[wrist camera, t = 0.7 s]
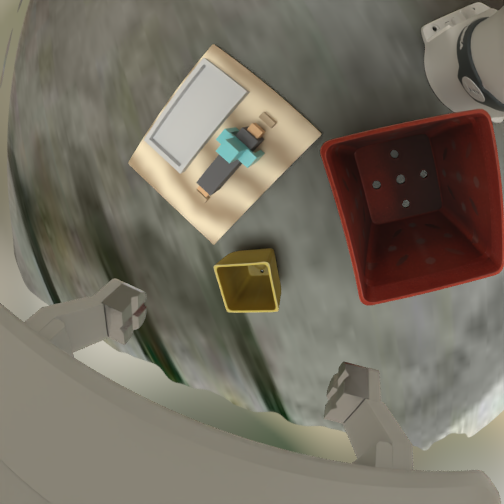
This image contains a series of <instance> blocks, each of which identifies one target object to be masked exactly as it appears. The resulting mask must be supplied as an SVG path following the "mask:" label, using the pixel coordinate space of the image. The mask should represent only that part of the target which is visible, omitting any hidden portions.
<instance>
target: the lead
mask: <svg viewBox="0 0 504 504" xmlns="http://www.w3.org/2000/svg"><path fill="white" fill-rule="evenodd" d="M264 133H265V131H264V130H263V129H262V128H261V127H260V126H259V125H258V124H257V123H252V124H251V125H250V126H248V127H242V128H241V129H240V130H239V132H238V133H237V134H236V135H235V136H236V137H237V138H238V139H239V140H240V141H241V142H242V143H243V144H245V145H246V146H247V147H248V148H249V149H250V150H251V151H252V152H253V151H254V150H255V149H256V148H257V147H258V146H259V145H260V144H261V143H262V142H263V140H264V139H263V138H262V135H263V134H264ZM241 165H242V163H241V162H240V161H239V160H235V161H233V162H231V163H228V162H227V161H226V160H225V159H224V158H223V157H221V156H220V155H218V156H217V157H216V159H215V160H214V161H213V162H212V163H211V165H210V166H209V167H208V168H207V170H206V171H205V172H204V173H203V175H202V176H201V177H200V178H199V180H198V181H197V182H196V183H197V184H198V185H199V187H198V188H197V189H198V190H199V191H200V192H201V193H202V194H203V195H204V196H205V197H207V196H209V195H210V196H211V195H212V194H214V193H215V192H217V191H218V190H220V189H221V187H222V186H223V185H224V184H225V183H226V182H227V180H228V179H229V178H230V177H231V176H232V175H233V174H234V173H235V171H236V170H237V169H238V168H239V167H240V166H241Z"/></svg>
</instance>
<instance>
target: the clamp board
mask: <svg viewBox="0 0 504 504" xmlns="http://www.w3.org/2000/svg"><path fill="white" fill-rule="evenodd" d="M203 58H206V59H208V60H209V61H211V62H212V63H213V64H215V65H216V66H217V67H219V68H220V69H221V70H223V71H224V72H225V73H226V74H228V75H229V76H230V77H232V78H233V79H234V80H235V81H237V82H238V83H239V84H240V85H242V86H243V87H244V88H245V89H246V90H248V91H249V92H250V93H249V94H248V95H247V96H246V97H245V98H244V100H243V101H242V102H241V103H240V104H239V105H238V106H237V108H236V109H235V110H234V111H233V112H232V113H231V115H230V116H229V117H228V118H227V119H226V120H225V122H224V123H223V124H222V125H221V126H220V128H219V129H218V130H217V131H216V132H215V134H214V135H213V136H212V137H211V139H210V140H209V141H208V142H207V144H206V145H205V146H204V147H203V149H202V150H201V151H200V152H199V154H198V155H197V156H196V158H195V159H194V160H193V161H192V163H191V164H190V165H189V167H188V168H187V169H186V171H185V172H183V173H181V174H180V173H179V172H178V171H177V170H176V169H175V168H173V167H172V166H171V165H170V164H169V163H168V162H167V161H166V160H165V159H164V158H163V157H162V156H160V155H159V154H158V153H157V152H156V151H155V150H154V149H153V148H152V147H151V146H150V145H149V144H147V143H146V142H145V141H144V139H145V137H146V135H147V134H148V132H149V131H150V129H151V128H152V126H153V125H154V123H155V122H156V120H157V119H158V117H159V116H160V114H161V113H162V112H163V110H164V109H165V107H166V106H167V104H168V103H169V102H170V100H171V99H172V97H173V96H174V95H175V93H176V92H177V91H178V89H179V88H180V87H181V85H182V84H183V83H184V81H185V80H186V79H187V77H188V76H189V75H190V74H191V72H192V71H193V70H194V69H195V67H196V66H197V65H198V64H199V62H200V61H201V60H202V59H203ZM187 77H186V78H185V79H184V80H183V82H182V83H181V84H180V86H179V87H178V88H177V90H176V91H175V93H174V94H173V95H172V97H171V98H170V99H169V101H168V102H167V104H166V105H165V106H164V108H163V109H162V111H161V112H160V114H159V115H158V117H157V118H156V120H155V121H154V123H153V124H152V126H151V127H150V129H149V130H148V132H147V133H146V135H145V136H144V138H143V139H142V141H141V143H140V144H139V146H138V147H137V149H136V151H135V152H134V154H133V156H132V157H131V159H130V161H129V162H128V164H129V165H130V166H131V167H132V168H134V169H135V170H136V171H137V172H138V173H139V174H140V175H141V176H142V177H143V178H144V179H145V180H146V181H147V182H148V183H149V184H150V185H151V186H152V187H153V188H154V189H155V190H156V191H157V192H158V193H160V194H161V195H162V196H163V197H164V198H165V199H166V200H167V201H168V202H169V203H170V204H171V205H172V206H173V207H174V208H175V209H176V210H177V211H178V212H180V213H181V214H182V215H183V216H184V217H185V218H186V219H187V220H188V221H189V222H190V223H191V224H192V225H193V226H194V227H195V228H196V229H198V230H199V231H200V232H201V233H202V234H203V235H204V236H205V237H206V238H207V239H208V240H209V241H210V242H211V243H213V244H215V243H216V242H217V241H218V240H219V239H220V238H221V237H222V236H223V235H224V234H225V233H226V231H227V230H228V229H229V228H230V227H231V226H232V225H233V224H234V223H235V222H236V221H237V220H238V219H239V218H240V217H241V216H242V215H243V214H244V213H245V212H246V210H247V209H248V208H249V207H250V206H251V205H252V204H253V203H254V202H255V201H256V200H257V199H258V198H259V197H260V196H261V195H262V194H263V193H264V192H265V191H266V190H267V189H268V188H269V187H270V186H271V185H272V184H273V183H274V182H275V181H276V180H277V179H278V178H279V177H280V176H281V175H282V174H283V172H284V171H285V170H286V169H287V168H288V167H289V166H290V165H291V164H292V163H293V162H294V161H295V160H296V159H297V158H298V157H299V156H300V155H301V154H302V153H303V152H304V151H305V150H306V149H307V148H308V147H309V146H310V145H311V144H312V143H313V142H314V141H316V140H317V139H318V138H319V137H320V136H321V135H322V133H320V132H319V131H318V130H317V129H316V128H315V127H314V126H313V125H312V124H311V123H310V122H309V121H308V120H307V119H306V118H305V117H303V116H302V115H301V114H300V113H299V112H298V111H297V110H296V109H295V108H294V107H292V106H291V105H290V104H289V103H288V102H287V101H286V100H284V99H283V98H282V97H281V96H280V95H279V94H277V93H276V92H275V91H274V90H273V89H272V88H270V87H269V86H268V85H267V84H266V83H264V82H263V81H262V80H261V79H259V78H258V77H257V76H256V75H254V74H253V73H252V72H251V71H249V70H248V69H247V68H246V67H244V66H243V65H242V64H240V63H239V62H238V61H236V60H235V59H234V58H232V57H231V56H230V55H228V54H227V53H226V52H224V51H223V50H222V49H220V48H219V47H217V46H216V45H214V44H213V45H212V46H211V47H210V48H209V49H208V51H207V52H206V53H205V54H204V55H203V57H202V58H201V59H200V60H199V61H198V63H197V64H196V65H195V66H194V68H193V69H192V70H191V71H190V73H189V74H188V75H187ZM252 123H257V124H258V125H259V126H260V127H261V128H262V129H263V130H264V131H265V133H264V134H263V135H262V138H263V139H264V140H263V142H262V143H261V144H260V145H259V146H258V147H257V148H256V149H255V150H254V151H253V153H255V152H257V151H259V150H262V151H263V152H264V153H265V154H264V155H263V156H262V157H261V158H260V159H259V160H258V161H257V162H256V163H255V164H253V165H252V166H250V167H248V168H247V167H246V166H244V165H243V164H242V165H241V166H240V167H239V168H238V169H237V170H236V171H235V173H234V174H233V175H232V176H231V177H230V178H229V179H228V180H227V182H226V183H225V184H224V185H223V186H222V187H221V189H220V190H218V191H217V192H215V193H214V194H212V195H211V196H210V195H209V196H207V197H205V196H204V195H203V194H202V193H201V192H200V191H199V190H198V189H197V188H198V187H199V185H198V184H197V183H196V182H197V181H198V180H199V178H200V177H201V176H202V175H203V173H204V172H205V171H206V170H207V168H208V167H209V166H210V165H211V163H212V162H213V161H214V160H215V159H216V157H217V156H218V155H219V154H218V153H217V152H216V150H217V149H218V147H219V146H220V145H221V144H220V143H219V142H218V141H217V140H216V139H217V137H218V136H219V135H220V134H221V133H222V131H223V130H224V129H227V128H234V127H236V128H237V129H238V130H240V129H241V128H242V127H248V126H250V125H251V124H252Z"/></svg>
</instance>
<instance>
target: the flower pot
mask: <svg viewBox="0 0 504 504" xmlns="http://www.w3.org/2000/svg"><path fill="white" fill-rule="evenodd" d="M261 270H263V271H264V272H261ZM214 271H215V274H216V277H217V281H218V284H219V287H220V291H221V294H222V297H223V301H224V304H225V307H226V310H227V312H235V313H236V312H237V313H242V312H277V311H278V310H279V303H280V296H281V284H280V279H279V274H278V269H277V264H276V259H275V253H274V250H273V249H271V248H268V249H256V250H243V251H236V252H232V253H230V254H228V255H227V256H225V257H224V258H223V259H222V260H220V261H219V262H218V263H217V264H216V265H214Z"/></svg>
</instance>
